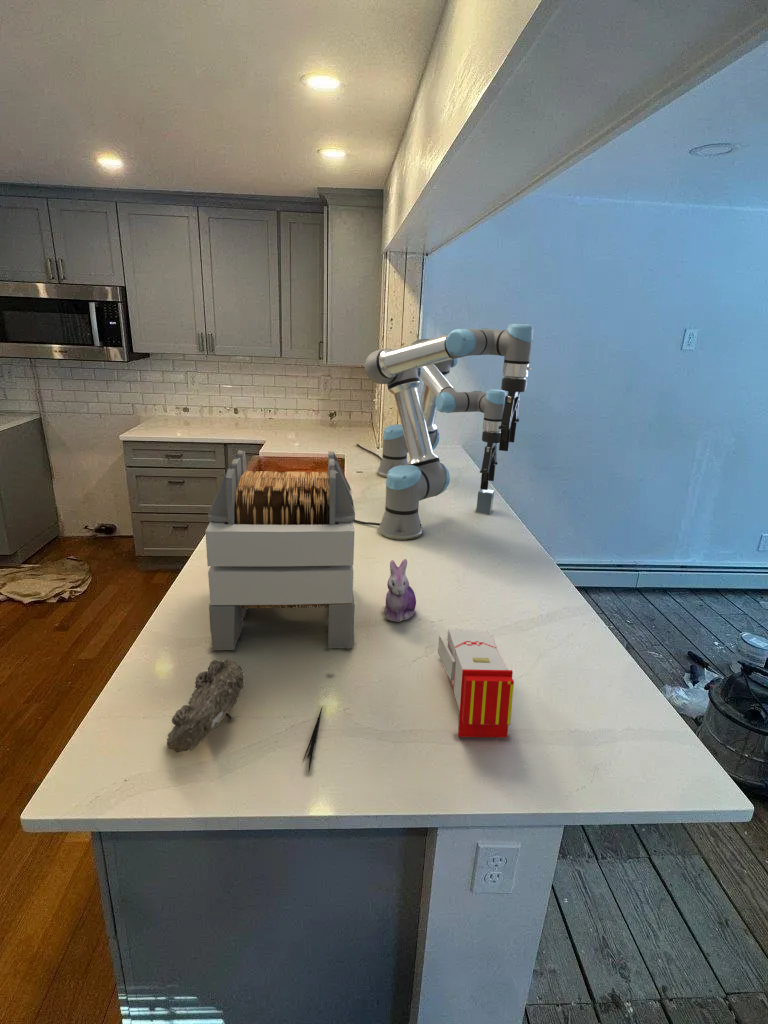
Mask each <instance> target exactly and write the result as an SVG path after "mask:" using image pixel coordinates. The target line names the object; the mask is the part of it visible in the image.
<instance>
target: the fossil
mask: <svg viewBox="0 0 768 1024" xmlns="http://www.w3.org/2000/svg"><path fill="white" fill-rule="evenodd" d="M243 670H244V669H243V667H242V665H240V664H237V662H236V661H235V660H234V659H232V658H231V659H227V658H226V659H224V660H223V661H222V660H217V659H212V660H211V661H210V663H209V665H208V666H207V671H201V672H199V673H198V674H197V675H196V676H195V680H194V684H195V685H194V687H195V689H194V690H193V693H192V694H191V697H190V698H189V700H188V704H184V705H182V706H181V707H180V709H177V710H176V711H175V713H174V715H173V716H172V718H171V723H172V724H173V727H172V730H171V731H170V732H168V734H167V738H166V741H167V742H166V745H167V749H168V750H169V751H173V752H174V753H176V754H178V753H182V752H188V751H189V752H192V751H193V750H195V748H196V747H197V746H199V744H200V743H201V742H203V741H204V740H205V739H206V738H207V737H208V736H209V735H210V734H211V733H212V732H214V730H215V729H217V727H218V726H219V724H220V722H221V721H222V720H223V719H224V718H225V716H226V717H227V719H229V720H233V717H232V715H230V714H229V710H230V709H231V708H234V706H235V704H236V703H237V702H238V699H239V697H240V695H241V693H242V691H243V690H245V689H244V688H245V675H244V671H243Z"/></svg>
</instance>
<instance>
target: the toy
mask: <svg viewBox="0 0 768 1024" xmlns="http://www.w3.org/2000/svg"><path fill="white" fill-rule="evenodd" d="M446 640H447V643H446V641H445V639H444V636H443V635H442V634H439V637H438V646H437V656H438V657H439V659H440V661H441V663H442V666H443V668H444V670H445V672H446V674H447V677H448V679H449V681H450V684H451V687H452V690H453V693H454V697H455V701H456V705H457V708H458V711H459V714H458V715H459V716H458V730H457V731H458V732H457V737H458V738H508V731H509V726H510V725H511V717H512V707H513V697H514V696H513V695H514V684H515V680H514V679H513V673H514V671H513V670H512V669H508V667H507V665H506V662H505V661H504V659H503V658H502V655H501V653H500V651H499V649H498V647H497V643H496V639H495V637H494V635H493V634H491V632H490V631H489V629H467V628H466V629H465V628H463V629H461V628H460V629H459V628H448V630H447V639H446Z"/></svg>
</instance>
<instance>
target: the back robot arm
mask: <svg viewBox="0 0 768 1024" xmlns="http://www.w3.org/2000/svg"><path fill="white" fill-rule="evenodd" d="M429 339H430V338H419V339H416V340H414V341H413V342H412V343H411V344H410V345H412V344H416V343H419V342H422V341H426V340H429ZM458 361H459V358H456V359H452V360H448V361H444V362H440V363H436V364H432V365H428V366H424V367H422V372H421V376H420V377H419V378H420V379H421V380H422V381H423V387H422V391H421V396H420V402H421V406H422V410H423V414H424V418H425V422H426V426H427V430H428V434H429V438H430V442H431V446H432V450H433V451H434V450H435V449H436V448H437V447H438V445H439V442H440V431H439V429H438V426H437V424H436V423H435V422H436V420H437V419H436V418H437V414H438V412H439V413H446V414H451V413H475V412H476V413H477V412H479V413H483V422H482V430H483V431H482V432H481V433H482V434H481V441H482V442H484V443H486V445H485V446H484V452H483V457H482V458H483V459H482V462H481V463H482V464H481V470H479V474H481V478H480V488H479V490H480V489H483V490H489V481H490V482H494V481H495V472H496V466H498V464H499V463H498V460H497V459H498V457H497V455H498V452H497V451H498V444H500V435H501V429H499V426H501V422H502V416H503V411H504V405H505V397H506V396H507V391H504V390H502V389H496V388H495V389H494V388H490V389H487V390H486V392H485V391H482V390H472V391H457V390H456V389H455V388H454V387H453V385H452V384H451V383H450V382H449V380H448V379H447V378H446V376H448V375H449V374H450V372H451V368H454V367H456V366H457V365H458ZM356 446H357V447H359V448H360V449H361V450H364V451H365V452H368V453H370V454H372V455H374V456H376V457H377V458H378V459H379V460H380V463H379V466H378V469H377V475H379V476H380V477H382V478H386V479H387V473H388V471H389V470H390V469H391V468H393V467H396V466H399V465H403V466H404V465H408V463H409V462H408V454H409V452H408V448H407V444H406V440H405V436H404V432H403V428H402V424H401V423H400V424H397V423H396V424H391V425H388V426H386V427H385V428H384V429H383V435H382V455H381V456H380V455H379V454H377V453H375V452H374V451H371V450H368V449H367V448H365V447H363V446H362V445H360V444H359V443H356Z"/></svg>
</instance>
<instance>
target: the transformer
mask: <svg viewBox="0 0 768 1024" xmlns="http://www.w3.org/2000/svg"><path fill="white" fill-rule="evenodd" d="M327 456H328V457H327V462H328V463H327V471H322V472H321V473H320V472H319V471H311V472H307V471H284V472H283V471H281V472H278V471H271V470H269V471H267V470H265V471H262V470H261V471H259V470H258V471H257V470H256V471H253V470H247V458H246V450H240V449H238V450H237V452H236V454H235V456H234V457H233V459H232V462H231V464H230V466H229V468H227V470H226V472H225V474H224V477H223V479H222V480H221V483H220V486H219V487H218V490H217V491H216V495H215V496H214V499H213V501H212V503H211V504H210V505H211V506H210V508H209V510H208V513H207V517H208V522H209V523H208V525H207V527H206V529H205V533H204V534H205V548H206V558H207V559H206V563H207V567H209V569H208V571H207V574H208V575H207V577H208V589H209V604H208V615H209V630H210V634H211V647H210V649H211V651H212V652H214V651H215V652H218V651H234V649H235V647H236V645H237V643H238V641H239V638H240V635H241V633H242V630H243V619H245V618H246V614H247V609H249V610H250V609H273V608H274V609H276V608H277V609H280V608H281V609H293V608H294V609H296V608H298V609H302V608H309V609H310V608H315V609H316V608H327V637H328V638H327V639H328V640H327V641H328V649H349V650H350V649H352V648H353V647H354V646H355V645H354V643H355V607H356V606H355V597H354V559H355V558H354V555H355V526H354V525H355V524H354V522H353V521H354V520H356V511H355V505H354V499H353V493H352V487H351V486H350V484H349V481H348V479H347V477H346V475H345V473H344V471H343V469H342V467H341V464H340V462H339V459H338V458H337V455H336V453H335V452H334V451H330V450H329V451H327Z"/></svg>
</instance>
